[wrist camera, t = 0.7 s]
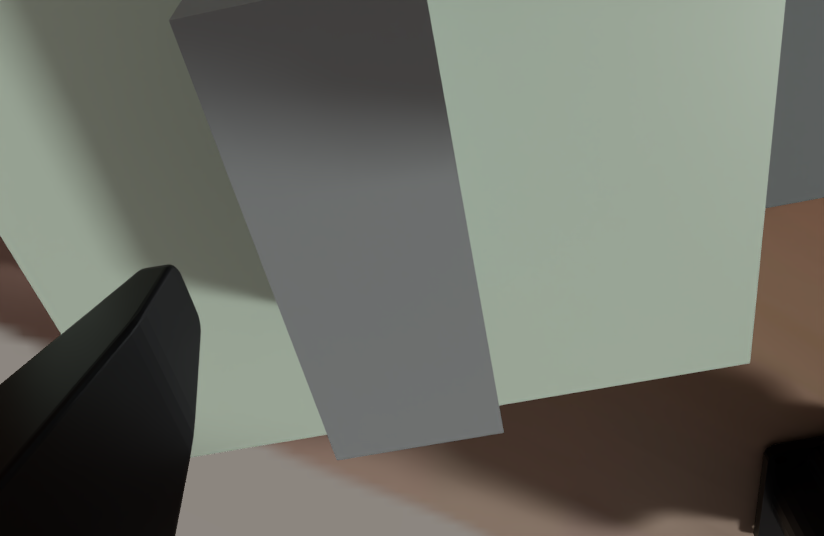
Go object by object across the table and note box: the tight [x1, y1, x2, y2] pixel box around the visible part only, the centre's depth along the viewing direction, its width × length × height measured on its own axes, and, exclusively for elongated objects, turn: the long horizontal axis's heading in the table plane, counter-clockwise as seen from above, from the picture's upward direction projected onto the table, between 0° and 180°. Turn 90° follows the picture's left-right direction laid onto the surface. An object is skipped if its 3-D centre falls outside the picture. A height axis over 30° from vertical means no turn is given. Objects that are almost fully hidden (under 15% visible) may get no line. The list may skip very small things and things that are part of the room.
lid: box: [0, 0, 786, 460], centre depth 14 cm, size 15×15×7 cm
